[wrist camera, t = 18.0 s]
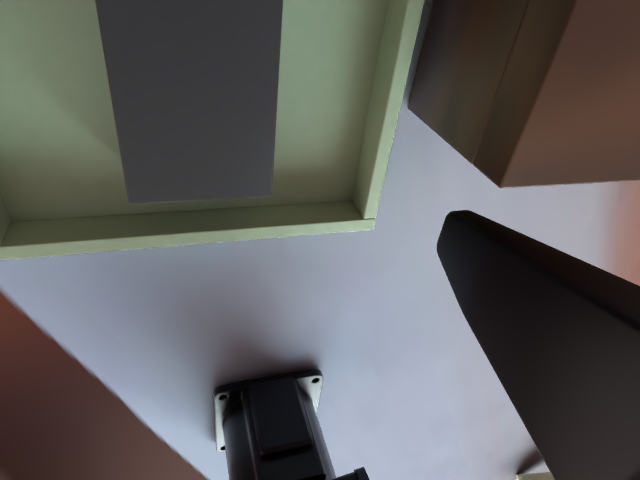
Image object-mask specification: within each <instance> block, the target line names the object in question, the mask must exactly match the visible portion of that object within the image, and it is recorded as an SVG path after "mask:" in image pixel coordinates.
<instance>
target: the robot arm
mask: <svg viewBox="0 0 640 480" xmlns="http://www.w3.org/2000/svg"><path fill="white" fill-rule="evenodd" d="M437 253H438V256H439V258H440V261H441V263H442V265H443V268H444V270H445V272H446V275H447V277H448V280H449V282H450V284H451V287H452V289H453V291H454V294H455V296H456V298H457V301H458V303H459V305H460V308H461V310H462V312H463V314H464V316H465V318H466V320H467V322H468V324H469V325H470V327H471V329H472V331H473V333H474V335H475V336H476V338H477V340H478V342H479V344H480V345H481V347H482V349H483V351H484V353H485V354H486V356H487V358H488V360H489V362H490V363H491V365H492V367H493V369H494V371H495V372H496V374H497V376H498V378H499V380H500V382H501V383H502V385H503V387H504V389H505V391H506V392H507V394H508V396H509V398H510V400H511V401H512V403H513V405H514V407H515V409H516V410H517V412H518V414H519V416H520V418H521V419H522V421H523V423H524V425H525V427H526V428H527V430H528V432H529V434H530V436H531V438H532V439H533V441H534V443H535V445H536V447H537V448H538V450H539V452H540V454H541V456H542V457H543V459H544V461H545V463H546V465H547V466H548V468H549V470H550V472H551V474H552V475H553V477H554V479H555V480H640V286H638V285H636V284H634V283H631V282H629V281H627V280H625V279H622V278H620V277H618V276H616V275H613V274H611V273H609V272H607V271H604V270H602V269H600V268H598V267H595V266H593V265H591V264H589V263H586V262H584V261H582V260H580V259H577V258H575V257H573V256H571V255H568V254H566V253H564V252H562V251H559V250H557V249H555V248H553V247H550V246H548V245H546V244H544V243H541V242H539V241H537V240H535V239H532V238H530V237H528V236H526V235H523V234H521V233H519V232H517V231H514V230H512V229H510V228H508V227H505V226H503V225H501V224H499V223H496V222H494V221H492V220H490V219H487V218H485V217H483V216H481V215H478V214H476V213H474V212H472V211H469V210H462V211H452V212H450V213H449V214H448V215H447V216H446V218H445V221H444V224H443V227H442V230H441V233H440V236H439V239H438V242H437ZM322 383H323V376H322V373H321V371H320V370H311V371H306V372H300V373H294V374H289V375H283V376H277V377H271V378H266V379H260V380H254V381H249V382H243V383H237V384H231V385H226V386H221V387H218V388H216V389H215V390H214V414H215V437H216V450H217V451H218V452H226V457H227V464H228V472H229V480H369V477H368V475H367V473H366V471H365V469H364V467H362V468H359V469H356V470H354V472H353V473H350V474H346V475H343V476H340V477H337V478H336V476H335V472H334V469H333V466H332V463H331V460H330V456H329V453H328V450H327V447H326V444H325V440H324V437H323V434H322V431H321V428H320V424H319V421H318V418H317V415H316V414H317V409H318V404H319V398H320V393H321V388H322Z"/></svg>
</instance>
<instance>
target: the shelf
mask: <svg viewBox="0 0 640 480" xmlns="http://www.w3.org/2000/svg"><path fill="white" fill-rule="evenodd" d="M408 109H409V110H411V111H412V112H413V113H414V114H415V115H416V116H417V117H419V118H420V119H421V120H422V121H423V122H424V123H425V124H427V125H428V126H429V127H430V128H431V129H432V130H433V131H435V132H436V133H437V134H438V135H439V136H440V137H442V138H443V139H444V140H445V141H446V142H447V143H448V144H450V145H451V146H452V147H453V148H454V149H455V150H456V151H458V152H459V153H460V154H461V155H462V156H463V157H464V158H466V159H467V160H468V161H469V162H470V163H472V164H473V165H474V166H475V167H476V168H477V169H479V170H480V171H481V172H482V173H483V174H484V175H485V176H487V177H488V178H489V179H490V180H491V181H492V182H493V183H495V184H496V185H497V186H498V187H499V188H515V187H532V186H550V185H567V184H584V183H601V182H618V181H636V180H640V0H433V4H432V8H431V13H430V17H429V21H428V25H427V29H426V34H425V38H424V42H423V46H422V51H421V55H420V59H419V63H418V68H417V72H416V76H415V80H414V85H413V89H412V93H411V97H410V102H409V106H408Z"/></svg>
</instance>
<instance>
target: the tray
mask: <svg viewBox="0 0 640 480" xmlns="http://www.w3.org/2000/svg"><path fill="white" fill-rule="evenodd" d="M424 2H425V0H283V13H282V30H281V48H280V65H279V82H278V100H277V117H276V135H275V152H274V169H273V187H272V196H270V197H252V198H234V199H216V200H198V201H180V202H162V203H144V204H129V203H128V198H127V192H126V185H125V179H124V173H123V167H122V161H121V155H120V149H119V143H118V137H117V131H116V125H115V119H114V113H113V107H112V101H111V94H110V88H109V82H108V76H107V70H106V64H105V58H104V52H103V46H102V40H101V34H100V28H99V22H98V16H97V9H96V3H95V0H0V260H12V259H24V258H36V257H48V256H60V255H72V254H84V253H96V252H109V251H121V250H133V249H145V248H157V247H169V246H181V245H194V244H206V243H218V242H230V241H242V240H254V239H266V238H278V237H291V236H303V235H315V234H327V233H339V232H351V231H363V230H373V229H374V224H375V220H376V215H377V210H378V206H379V201H380V197H381V192H382V188H383V184H384V179H385V175H386V170H387V166H388V161H389V157H390V152H391V148H392V144H393V139H394V135H395V130H396V126H397V121H398V117H399V113H400V108H401V104H402V99H403V95H404V90H405V86H406V82H407V77H408V73H409V68H410V64H411V59H412V55H413V50H414V46H415V42H416V37H417V33H418V28H419V24H420V19H421V15H422V11H423V6H424Z"/></svg>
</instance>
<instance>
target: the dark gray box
mask: <svg viewBox="0 0 640 480" xmlns="http://www.w3.org/2000/svg"><path fill="white" fill-rule="evenodd" d="M95 3H96V9H97V16H98V22H99V28H100V34H101V40H102V46H103V52H104V58H105V64H106V70H107V76H108V82H109V88H110V94H111V101H112V107H113V113H114V119H115V125H116V131H117V137H118V143H119V149H120V155H121V161H122V167H123V173H124V179H125V185H126V192H127V198H128V203H129V204H144V203H162V202H180V201H198V200H216V199H234V198H252V197H270V196H272V187H273V169H274V152H275V135H276V117H277V100H278V82H279V65H280V48H281V30H282V13H283V0H95Z"/></svg>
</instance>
